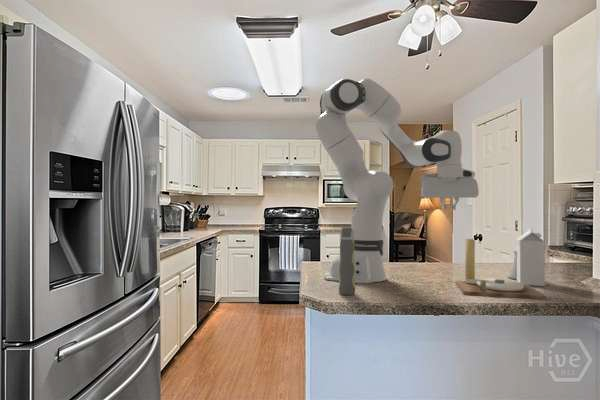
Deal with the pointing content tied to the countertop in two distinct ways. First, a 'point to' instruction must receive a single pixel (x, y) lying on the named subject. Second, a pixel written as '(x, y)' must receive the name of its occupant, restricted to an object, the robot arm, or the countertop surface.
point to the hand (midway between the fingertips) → (449, 209)
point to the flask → (513, 268)
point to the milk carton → (531, 259)
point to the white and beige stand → (490, 283)
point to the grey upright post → (347, 262)
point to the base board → (482, 291)
